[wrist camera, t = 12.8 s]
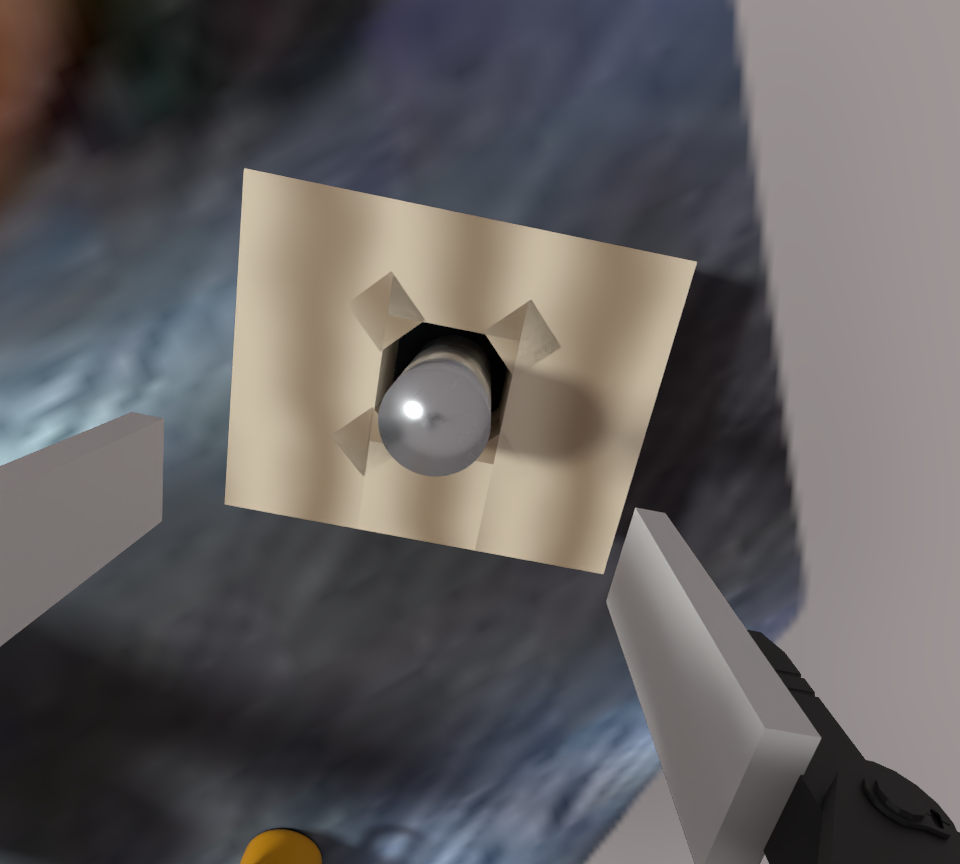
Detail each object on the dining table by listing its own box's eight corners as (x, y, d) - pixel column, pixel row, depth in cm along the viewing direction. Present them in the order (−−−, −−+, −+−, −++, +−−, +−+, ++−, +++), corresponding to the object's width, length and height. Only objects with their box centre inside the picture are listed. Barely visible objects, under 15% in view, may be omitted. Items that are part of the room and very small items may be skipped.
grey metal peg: (408, 403, 31) (371, 465, 22) (420, 327, 30) (385, 358, 20) (483, 417, 31) (479, 485, 22) (498, 343, 30) (500, 380, 20)
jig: (264, 469, 33) (224, 504, 28) (286, 184, 28) (244, 168, 23) (587, 529, 33) (603, 574, 29) (662, 262, 29) (697, 262, 24)
